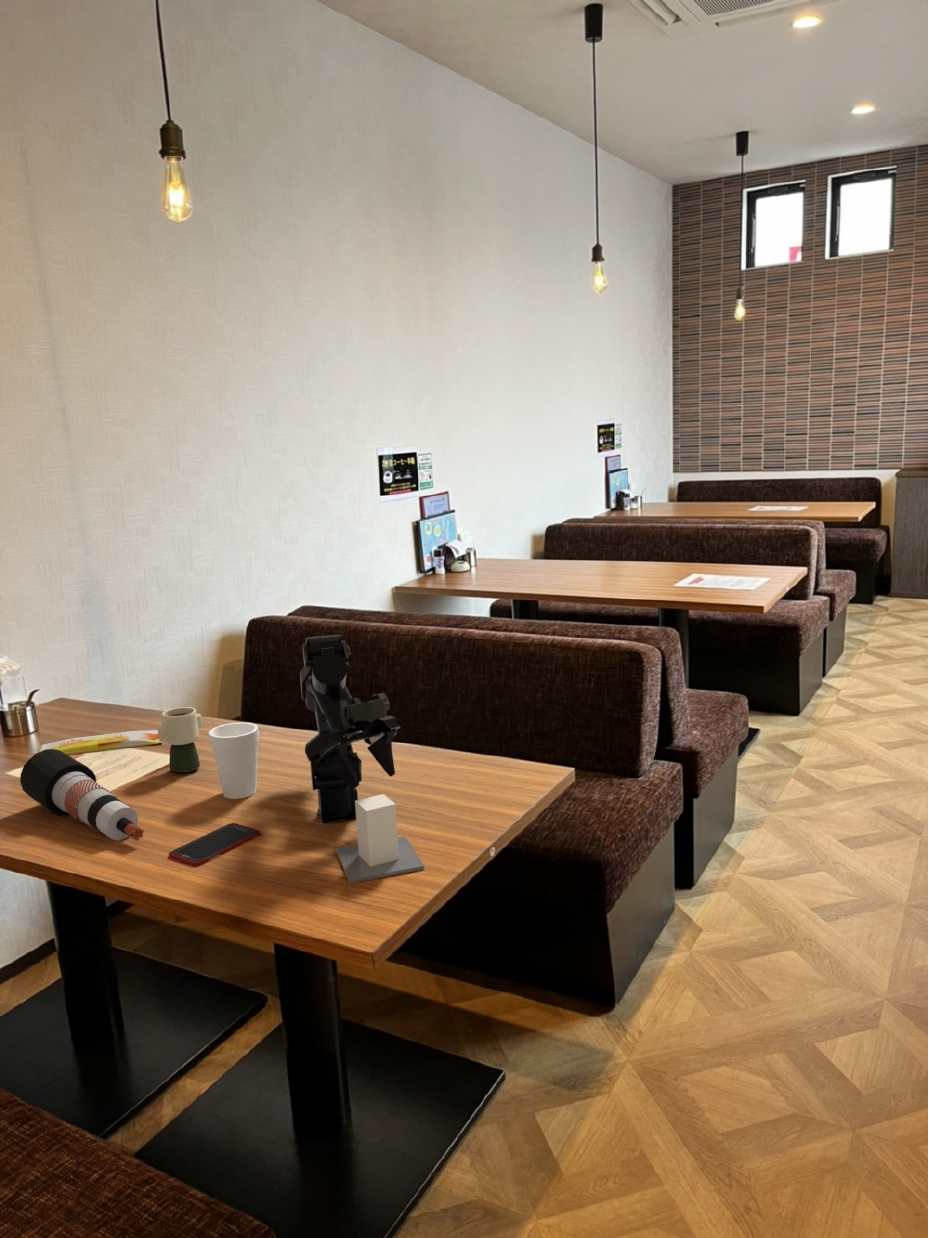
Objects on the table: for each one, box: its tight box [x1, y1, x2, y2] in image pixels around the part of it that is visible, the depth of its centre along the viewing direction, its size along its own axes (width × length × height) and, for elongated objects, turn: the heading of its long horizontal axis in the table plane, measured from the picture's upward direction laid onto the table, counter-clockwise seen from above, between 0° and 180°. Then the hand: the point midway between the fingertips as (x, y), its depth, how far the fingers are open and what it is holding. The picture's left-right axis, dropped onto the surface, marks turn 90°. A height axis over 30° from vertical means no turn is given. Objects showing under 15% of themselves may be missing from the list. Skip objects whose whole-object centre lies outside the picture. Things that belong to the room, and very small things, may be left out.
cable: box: [19, 749, 145, 842], centre depth 172 cm, size 10×34×10 cm, turn 49°
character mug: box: [157, 706, 203, 774], centre depth 197 cm, size 11×7×13 cm, turn 145°
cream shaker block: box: [355, 793, 399, 867], centre depth 151 cm, size 5×5×10 cm
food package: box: [37, 729, 163, 756], centre depth 217 cm, size 27×2×10 cm
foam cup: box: [208, 722, 260, 800], centre depth 183 cm, size 10×9×13 cm
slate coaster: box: [335, 835, 425, 884], centre depth 152 cm, size 12×12×1 cm
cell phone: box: [168, 822, 261, 867], centre depth 161 cm, size 8×15×1 cm, turn 146°
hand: (375, 780), depth 159 cm, fingers open, 9 cm apart
